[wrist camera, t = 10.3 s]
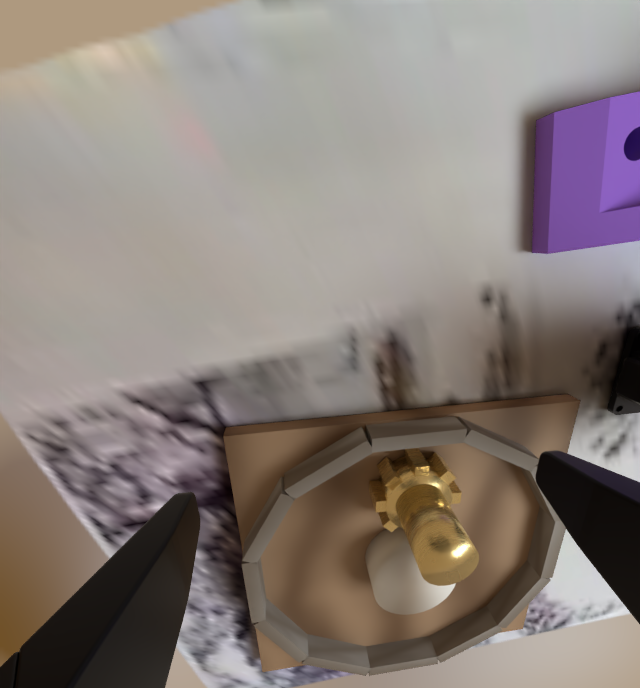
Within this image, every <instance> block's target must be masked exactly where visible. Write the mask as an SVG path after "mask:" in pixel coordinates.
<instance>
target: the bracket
mask: <svg viewBox="0 0 640 688" xmlns="http://www.w3.org/2000/svg"><path fill="white" fill-rule="evenodd" d="M639 240H640V91H639V92H634V93H629V94H624V95H619V96H614V97H610V98H606V99H602V100H598V101H595V102H591V103H587V104H583V105H580V106H576V107H572V108H568V109H565V110H561V111H557V112H554V113H552V114H549V115H547V116H545V117H543V118H541V119H538V120H536V144H535V176H534V207H533V238H532V253H545V254H549V253H556V252H563V251H570V250H577V249H584V248H590V247H597V246H604V245H611V244H618V243H625V242H632V241H639Z"/></svg>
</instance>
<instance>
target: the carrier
mask: <svg viewBox="0 0 640 688" xmlns="http://www.w3.org/2000/svg"><path fill="white" fill-rule="evenodd" d="M579 404H580V400H578V399H576V398H574V397H573V396H571V395H569V394H563V395H552V396H542V397H532V398H522V399H511V400H501V401H491V402H481V403H470V404H460V405H450V406H440V407H429V408H419V409H409V410H399V411H388V412H378V413H368V414H358V415H347V416H337V417H327V418H317V419H306V420H296V421H286V422H276V423H265V424H255V425H245V426H235V427H226V429H225V432H224V436H223V438H224V444H225V450H226V456H227V462H228V468H229V474H230V480H231V486H232V492H233V498H234V504H235V510H236V516H237V522H238V527H239V533H240V539H241V545H242V551H243V556H242V570H243V576H244V581H245V587H246V593H247V599H248V605H249V610H250V616H251V622H252V623H253V626H254V627H255V629H256V635H257V641H258V647H259V653H260V659H261V665H262V671H263V672H266V671H272V670H278V669H284V668H290V667H296V666H302V665H310V666H315V667H321V668H326V669H332V670H337V671H343V672H348V673H354V674H359V675H365V676H366V675H367V673H369V675H375V674H381V673H387V672H393V671H399V670H405V669H410V668H416V667H422V666H428V665H434V664H437V663H438V660H439V661H440V662H443V661H445V660H447V659H449V658H451V657H453V656H455V655H456V654H458V653H460V652H462V651H464V650H466V649H468V648H470V647H472V646H474V645H476V644H478V643H480V642H482V641H484V640H486V639H488V638H489V637H491V636H493V635H495V634H497V633H500V632H506V631H512V630H518V629H523V625H524V621H525V617H526V613H527V609H528V605H529V603H530V602H531V601H532V600H533V599H534V598H535V596H536V595H537V594H538V593H539V592H540V591H541V590H542V589H543V588H544V587H545V586H546V585H547V584H548V583H549V581H550V579H549V578H552V577H553V573H554V569H555V566H556V562H557V559H558V555H559V551H560V548H561V544H562V541H563V537H564V533H565V530H566V527H565V526H564V524H563V523H562V521H561V520H560V518H559V517H558V515H557V514H556V512H555V511H554V509H553V508H552V506H551V505H550V503H549V502H548V500H547V499H546V497H545V496H544V494H543V493H542V491H541V490H540V488H539V487H538V485H537V483H536V478H535V476H536V471H537V466H538V462H539V457H540V455H541V453H542V452H545V451H554V450H558V451H562V452H564V453H567V452H568V448H569V444H570V440H571V436H572V432H573V428H574V424H575V420H576V416H577V412H578V408H579ZM411 448H419V450H420V452H421V453H422V455H423V456H424V457H426V458H429V457H430V456H431V455H433V454H434V453H435V452H436V453H437V454H438V455H439V456H440V457H442V458H443V459H444V461H445V462H446V464H447V465H448V466H449V468H450V469H451V471H452V472H453V474H454V475H455V476H456V479H455V480H454V482H455V483H456V485H457V486H458V488H459V489H460V491H461V492H462V494H461V501H460V503H457V504H451V506H450V507H451V508H452V510H453V512H454V513H455V515H456V517H457V518H458V520H459V522H460V523H461V525H462V527H463V528H464V530H465V532H466V533H467V535H468V536H469V538H470V540H471V541H472V543H473V545H474V546H475V548H476V550H477V552H478V554H479V562H478V565H477V567H476V568H475V570H474V571H473V572H472V573H471V574H470V575H469V576H468V577H467V578H465V579H464V580H462V581H460V582H458V583H455V584H451V585H446V586H437V585H433V584H430V583H428V582H427V581H425V580H424V579H423V577H422V575H421V573H420V570H419V568H418V565H417V563H416V560H415V558H414V555H413V553H412V550H411V548H410V545H409V543H408V540H407V538H406V535H405V533H404V530H403V528H401V527H397V528H396V529H395V530H394V531H393V532H391V531H389V530H388V529H386V528H385V527H383V525H382V522H381V519H380V516H379V513H378V512H377V513H376V512H375V509H374V506H373V503H372V499H371V496H370V493H369V481H374V480H379V477H380V472H379V469H378V467H377V465H378V464H379V463H380V462H381V461H383V460H384V459H385V458H386V457H387V458H389V459H390V460H391V461H392V462H393V461H394V460H396V459H398V458H401V457H404V456H405V449H411Z"/></svg>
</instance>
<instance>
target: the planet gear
mask: <svg viewBox="0 0 640 688" xmlns="http://www.w3.org/2000/svg"><path fill="white" fill-rule="evenodd" d="M377 467H378V469H379V472H380V477H379V480H374V481H369V493H370V496H371V499H372V503H373V506H374V509H375V512H376V513H377V512H378V513H379V516H380V519H381V522H382V525H383V527H385V528H386V529H388V530H389V531H391V532H393V531H394V530H395V529H396V528H397V527H401V528H403V530H404V533H405V535H406V538H407V540H408V543H409V545H410V548H411V550H412V553H413V555H414V558H415V560H416V563H417V565H418V568H419V570H420V573H421V575H422V577H423V579H424V580H425V581H427V582H428V583H430V584H433V585H437V586H446V585H451V584H455V583H458V582H460V581H462V580H464V579H465V578H467V577H468V576H469V575H470V574H471V573H472V572H473V571H474V570H475V568H476V567H477V565H478V562H479V554H478V552H477V550H476V548H475V546H474V545H473V543H472V541H471V540H470V538H469V536H468V535H467V533H466V532H465V530H464V528H463V527H462V525H461V523H460V522H459V520H458V518H457V517H456V515H455V513H454V512H453V510H452V508H451V507H450V506H451V504H457V503H460V501H461V494H462V492H461V491H460V489H459V488H458V486H457V485H456V483H455V482H454V480H455V479H456V476H455V475H454V474H453V472H452V471H451V469H450V468H449V466H448V465H447V464H446V462H445V461H444V459H443V458H442V457H440V456H439V455H438V454H437V453H436V452H435V453H434V454H433V455H431V456H430V457H429V458H426V457H424V456H423V455H422V453H421V452H420V450H419V448H411V449H405V456H404V457H401V458H398V459H396V460H394V461H393V462H392V461H391V460H390V459H389V458H387V457H386V458H385V459H384V460H383V461H381V462H380V463H379V464H378V465H377Z"/></svg>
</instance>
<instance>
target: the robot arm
mask: <svg viewBox="0 0 640 688" xmlns="http://www.w3.org/2000/svg"><path fill="white" fill-rule="evenodd" d="M608 411H610V412H612V413H614V414H615V415H620V414H629V413H639V412H640V327H636V328H634V329H632V330H631V331H630V333H629V335H628V338H627V342H626V345H625V349H624V352H623V356H622V359H621V363H620V366H619V370H618V373H617V377H616V380H615V383H614V387H613V390H612V394H611V397H610V401H609V404H608ZM535 478H536V483H537V485H538V487H539V488H540V490H541V491H542V493H543V494H544V496H545V497H546V499H547V500H548V502H549V503H550V505H551V506H552V508H553V509H554V511H555V512H556V514H557V515H558V517H559V518H560V520H561V521H562V523H563V524H564V526H565V527H566V529H567V530H568V532H569V533H570V535H571V536H572V538H573V539H574V541H575V542H576V543H577V545H578V546H579V547H580V549H581V550H582V551H583V553H584V554H585V555H586V557H587V558H588V559H589V560H590V562H591V563H592V564H593V566H594V567H595V568H596V569H597V571H598V572H599V573H600V574H601V576H602V577H603V578H604V580H605V581H606V582H607V583H608V585H609V586H610V587H611V588H612V590H613V591H614V592H615V594H616V595H617V596H618V597H619V599H620V600H621V601H622V602H623V604H624V605H625V606H626V607H627V609H628V610H629V611H630V613H631V614H632V615H633V616H634V618H635V619H636V620H637V621H638V623H639V624H640V482H637V481H635V480H632V479H630V478H627V477H625V476H622V475H620V474H617V473H615V472H612V471H610V470H607V469H605V468H602V467H600V466H597V465H595V464H592V463H590V462H587V461H585V460H582V459H580V458H577V457H575V456H572V455H569V454H567V453H564V452H562V451H558V450H554V451H545V452H542V453H541V455H540V457H539V462H538V466H537V471H536V476H535ZM199 530H200V516H199V511H198V506H197V502H196V497H195V495H194V493H192V492H186V493H178V494H175V495H174V496H173V497H172V498H171V499H170V500H169V501H168V502H167V503H166V504H165V505H164V506H163V507H162V508H161V509H160V510H159V511H158V512H157V513H156V514H155V515H154V516H153V517H152V518H151V519H150V520H149V521H148V522H146V523H145V524H144V525H143V526H142V527H141V528H140V529H139V530H138V531H137V532H136V533H135V534H134V535H133V536H132V537H131V538H130V539H129V540H128V541H127V542H126V543H125V544H124V545H123V546H122V547H121V548H120V549H119V550H118V551H117V552H116V553H115V554H114V555H113V556H112V557H111V558H110V559H109V560H108V561H107V562H106V563H105V564H104V565H103V566H102V567H101V568H100V569H99V570H98V571H97V572H96V573H95V574H94V575H93V576H92V577H91V578H90V579H89V580H88V581H87V582H86V583H85V584H84V585H83V586H82V587H81V588H80V589H79V590H78V591H77V592H76V593H75V594H74V595H73V596H72V597H71V598H70V599H69V600H68V601H67V602H66V603H65V604H64V605H63V606H62V607H61V608H60V609H59V610H58V611H57V612H56V613H55V614H54V615H53V616H52V617H51V618H50V619H49V620H48V621H47V622H46V623H45V624H44V625H43V626H42V627H41V628H40V629H38V630H37V631H36V633H34V634H33V635H32V636H31V637H30V639H28V641H26V642H25V643H24V644H23V645H22V647H21V648H20V651H19V652H16V653H14V654H13V655H12V656H11V657H10V658H9V659H8V660H7V661H6V662H5V663H4V664H3V665H2V666H1V667H0V688H165V685H166V681H167V677H168V674H169V670H170V666H171V662H172V659H173V655H174V651H175V648H176V644H177V640H178V636H179V632H180V629H181V625H182V621H183V617H184V614H185V610H186V605H187V601H188V596H189V591H190V585H191V579H192V573H193V567H194V561H195V555H196V549H197V542H198V536H199Z"/></svg>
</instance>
